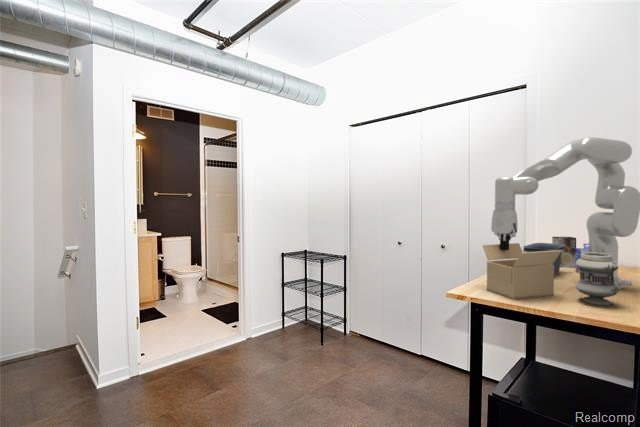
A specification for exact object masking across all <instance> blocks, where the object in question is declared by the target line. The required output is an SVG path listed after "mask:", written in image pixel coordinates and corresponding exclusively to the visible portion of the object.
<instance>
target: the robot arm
mask: <svg viewBox="0 0 640 427" xmlns="http://www.w3.org/2000/svg"><path fill="white" fill-rule="evenodd" d="M632 154H633V148H632V146H631V145H630V144H629V143H628V142H626V141H623V140H617V139H610V138H609V139H608V138H602V137H591V136H590V137H584V138H580V139H575V140H572V141H570V142H568V143H566V144H565V145H563V146H562V147H560V148H559V149H558V150H556V151H555V152H553V153H551V154H550V155H548V156H546V157H545V158H544V159H542V160H540V161H538V162H536V163H534V164H532V165H530V166H529V167H526V168H525V169H522V171H520V172H518V173H517V174H515V175H514V176H512V177H506V176H505V177H498V178H496V179H495V183H494V190H495V191H494V209H493V212H492V217H491V229H490V230H491V232H492V233H494V234H493V235H494V236H497V237H498V240H499V244H500V250H509V244H510V241H511V239H512V238H516V237H517V233H518V229H519V228H518V224H519V223H518V214H517V211H516V196H518V195H523V196H527V195H533V194H534V193H535V192H536V191H538V190H539V189H538V188H539V182H540V181H542V180H546V179H551V178H554V177H556V176H559V175H560V174H562V173H563V172H565V171H566V170H568V169H569V168H571V167H572V166H574V165H575V164H577V163H579V162H580V161H583V160H587V162H589V163H590V165H592V166H593V167H594V168H595V171H596V172H597V175H598V179H597V185H596V191H595V197H594V203H595V205H596V206H597V207H598V208H600V209H602V210H603V209H604V210H613V212H609V211H607V212H606V211H598V212H595V213H592V214H590V215H589V216H588V218H587V220H586V230H587V233H588V244H589V245H588V246H589V252H595V253H606V254H611V255H612V259H613V261H615V262H616V263H617V264H618V265H619V242H618V239H617V237H619V238H626V237H629V236H632V235H633V234H634V233H635V231H636V230H637V228H638V227H637V226H638V223H639V218H640V191H639V190H638V189H637V188H635V187H634V186H630V185H625V179H626V173H625V172H626V171H625V169H624V168H623V166H622V165H621V164H620V163H624V162H626V161H627V160H629V159H630V158H631V156H632ZM618 269H619V268H618ZM618 269H617V270H615V271H614V284H615V285H616V286H617V287H618V289H619V290H622V289H623V286H627V287H632V286H633V281H632V280H627V279H621V278H620V276H619V275H618V273H619V271H618Z"/></svg>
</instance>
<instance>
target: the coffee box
mask: <svg viewBox="0 0 640 427" xmlns="http://www.w3.org/2000/svg"><path fill="white" fill-rule="evenodd" d="M551 240H552V242H551V243H552V244H562V245H565V246H564V250H562V251H561V260H560V268H576V251H575V248H577V237H574V236H552V238H551Z"/></svg>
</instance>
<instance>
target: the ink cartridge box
mask: <svg viewBox="0 0 640 427" xmlns="http://www.w3.org/2000/svg"><path fill="white" fill-rule="evenodd" d="M582 244H583V247H580V248H577V247H576V248H575V251H576V261H577V260H578V259H580V258H581V255H582V253H586V252H589V243H582ZM575 272H576V273H578V274H580V268H579V267H577V265H576V267H575Z"/></svg>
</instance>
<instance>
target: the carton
mask: <svg viewBox="0 0 640 427" xmlns="http://www.w3.org/2000/svg"><path fill="white" fill-rule="evenodd" d="M517 259H518V258H514V259H500V260H487V261H486V291H489V292H492V293H494V294H498V295H500V296H503V297H505V298H508V299H511V300H522V299H530V298H537V297H538V298H539V297H541V298H542V297H549V296H550V297H551V296H554V295H555V274H554V265H552V264H542V265H529V266H516V267H514V264H515V262H516V260H517Z"/></svg>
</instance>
